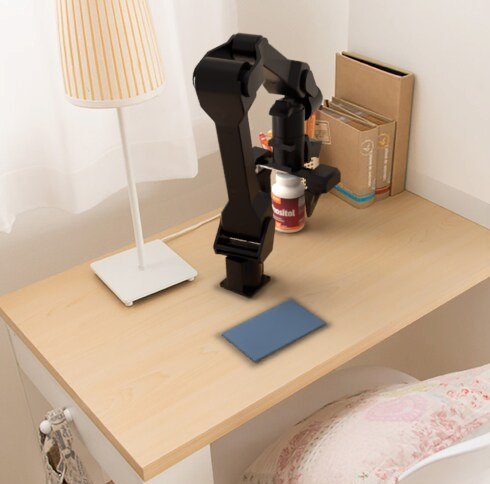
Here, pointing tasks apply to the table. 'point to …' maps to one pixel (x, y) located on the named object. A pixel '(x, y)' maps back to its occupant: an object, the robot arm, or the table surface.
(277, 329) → the napkin
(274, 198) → the pill bottle
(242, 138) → the robot arm
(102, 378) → the table surface
